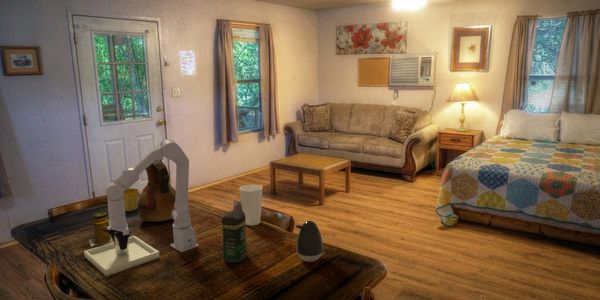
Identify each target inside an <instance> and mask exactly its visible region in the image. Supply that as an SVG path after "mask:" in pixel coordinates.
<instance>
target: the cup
mask: <svg viewBox="0 0 600 300" xmlns="http://www.w3.org/2000/svg"><path fill="white" fill-rule="evenodd" d="M263 189H264V188H263V185H260V184H254V183H253V184H246V185H241V186H240V187H239V189H238V191H239V196H240V203H241V210H242V211H243V212H244V213H245V218H246V223H245V226H246V225H247V226H256V225H260V223H261V215H262V204H263V203H262V199H263Z"/></svg>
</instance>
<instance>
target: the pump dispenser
mask: <svg viewBox="0 0 600 300" xmlns="http://www.w3.org/2000/svg"><path fill="white" fill-rule="evenodd" d="M295 228H296V229H299V231H298V235H297V239H296V246H295V252H296V253H297V255H298V257H299V259H301V260H302V261H304V262H308V263H312V262H313V263H314V262H316V261H317V260H319V259H320V258H321V257H322V255H323V251H324V245H323V238H322V233H321V232H320V229H319V227H318V225H317V224H316V222H315V221H313V220H306V221H304V222H303V223H302V225H300V224H296V225H295Z"/></svg>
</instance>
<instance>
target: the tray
mask: <svg viewBox="0 0 600 300" xmlns="http://www.w3.org/2000/svg"><path fill="white" fill-rule="evenodd" d="M128 250H129V253H128V254H127V255H124V256H117V255H116V250H115V244H114V241H113V242H109V243H105V244H101V245H98V246H95V247H93V248H90V249H87V250H86V249H85V250H84V251H83V253H84V254H83V255H84V258H85V259H86V260H88V262H90V263H91V264H92V265H93V266H94V267H95V268H96V269H97V270H99V271H100V273H102V274H103V275H104V276H105V277H109V276H112V275H115V274H117V273H120V272H123V271H126V270H129V269H131V268H134V267H137V266H140V265H142V264H145V263H147V262H151V261H154V260H156V259H159V258H160V251H159V250H158V249H156V248H154V247H153V246H152V245H149V244H148V243H146V242H145V241H143V240H142V239H140V238H139V237H137V236H136V235H132V236H129V238H128Z"/></svg>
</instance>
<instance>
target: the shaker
mask: <svg viewBox="0 0 600 300" xmlns="http://www.w3.org/2000/svg"><path fill="white" fill-rule="evenodd" d="M115 233H120V232H119V231H117V230H116V231H115V232H114V234H115ZM114 236H115V235H114ZM115 250H116V255H117V256H124V255H127V254H128V253H129V250H128V243H127V249H124V250H121V249H120V247H119V243H118V240H117V238H116V237H115Z"/></svg>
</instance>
